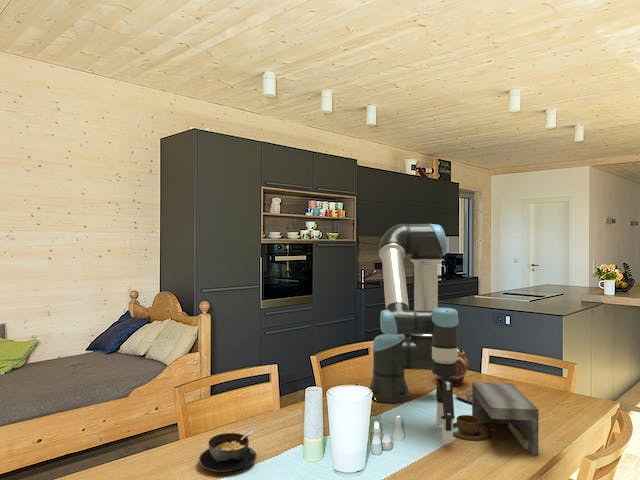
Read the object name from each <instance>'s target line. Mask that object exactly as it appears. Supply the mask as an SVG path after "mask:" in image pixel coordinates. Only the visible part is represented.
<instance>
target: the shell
mask: <svg viewBox="0 0 640 480" xmlns="http://www.w3.org/2000/svg"><path fill="white" fill-rule="evenodd" d="M455 397H456V398H458V399H459V400H460V401H462V402H464V403H467V404H470V405H472V388H467V389H466V390H465V391H464V392H462V393H456V394H455Z"/></svg>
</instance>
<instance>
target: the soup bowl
mask: <svg viewBox="0 0 640 480" xmlns="http://www.w3.org/2000/svg"><path fill="white" fill-rule="evenodd" d="M258 427H259V425H255V426H253V427H252V428H250V429H249V430H248V431H247V432H246V433H244V434H242V433H237V432H235V433H234V432H229V433H228V432H227V433H225V432H224V433H219V434H217V435H214V436H213V437H211V438H210V439H209V441H208V448H207V449H206V450H204V451H202V453H200V455H199V457H198V458H199V459H198V462H199V465H200V466H201V467H203V468H204V469H206V470H208V471H211V472H217V473H222V472H232V471H238V470H240V469H243V468H244V469H245V468H246V467H248V466H250V465H252V464H254V462H255V461H256V460H257V457H258V456H257V452H256V451H255V450H254V449H253V448H251V447H249V442H250V440H249V438H248V437H249V436H250V434H252V433H253V432H254V431H255V430H257V428H258Z"/></svg>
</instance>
